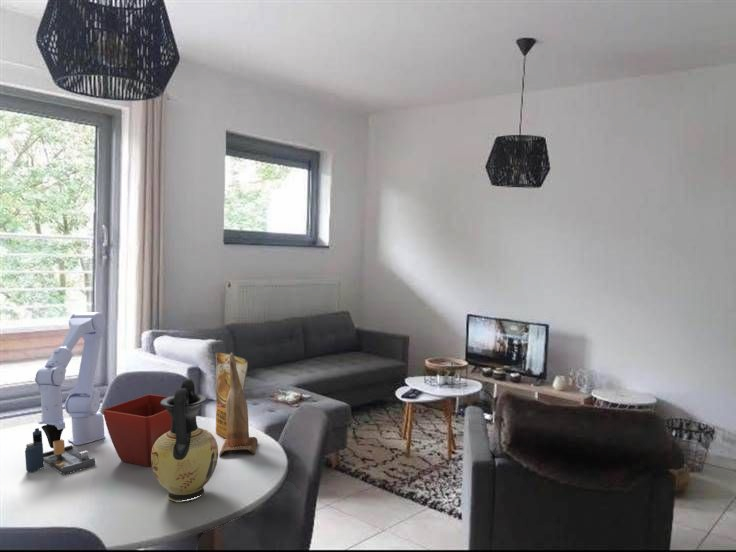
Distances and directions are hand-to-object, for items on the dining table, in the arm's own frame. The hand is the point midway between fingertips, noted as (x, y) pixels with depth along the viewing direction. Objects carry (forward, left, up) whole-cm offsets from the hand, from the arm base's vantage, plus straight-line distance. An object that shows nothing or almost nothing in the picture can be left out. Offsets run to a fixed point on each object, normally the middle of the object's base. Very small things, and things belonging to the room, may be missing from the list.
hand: (54, 447), depth 179 cm
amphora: (-13, +57, -4) cm, 59 cm away
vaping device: (+7, +5, -4) cm, 10 cm away
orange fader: (0, +4, -2) cm, 4 cm away
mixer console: (-1, +8, -3) cm, 8 cm away
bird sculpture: (-41, +41, -4) cm, 58 cm away
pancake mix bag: (-47, +27, -4) cm, 54 cm away
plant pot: (-20, +24, -4) cm, 31 cm away
